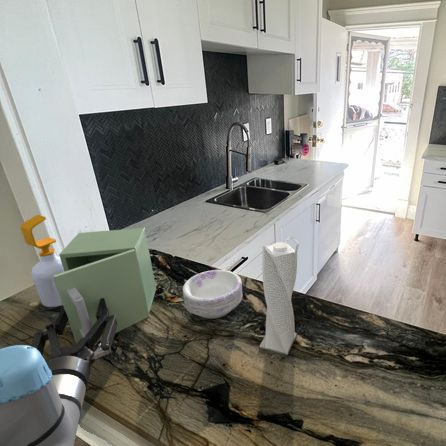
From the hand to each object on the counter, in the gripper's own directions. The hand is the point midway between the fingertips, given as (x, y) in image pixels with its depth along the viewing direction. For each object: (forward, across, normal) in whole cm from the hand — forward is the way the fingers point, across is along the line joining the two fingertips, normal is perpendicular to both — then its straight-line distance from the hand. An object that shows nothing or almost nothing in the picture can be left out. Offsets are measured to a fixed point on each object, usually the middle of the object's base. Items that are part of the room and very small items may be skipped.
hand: (85, 306), depth 71 cm
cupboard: (+13, +5, -10) cm, 17 cm away
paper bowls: (+2, +28, -10) cm, 30 cm away
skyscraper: (-17, +40, -10) cm, 45 cm away
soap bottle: (+22, -11, -10) cm, 27 cm away
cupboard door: (-1, +5, -10) cm, 11 cm away
